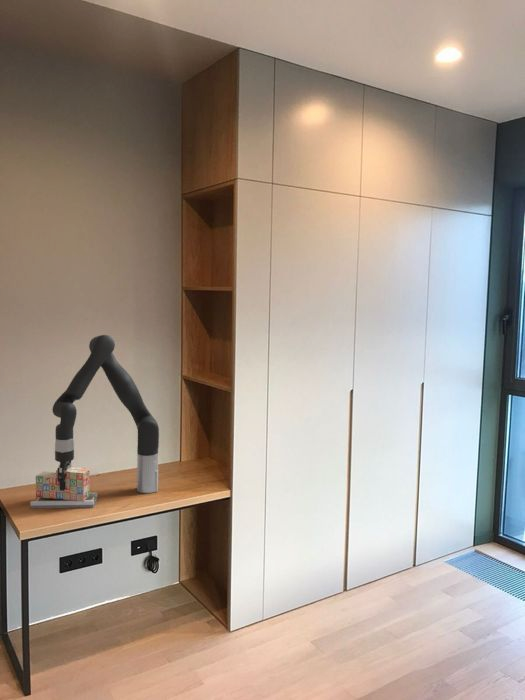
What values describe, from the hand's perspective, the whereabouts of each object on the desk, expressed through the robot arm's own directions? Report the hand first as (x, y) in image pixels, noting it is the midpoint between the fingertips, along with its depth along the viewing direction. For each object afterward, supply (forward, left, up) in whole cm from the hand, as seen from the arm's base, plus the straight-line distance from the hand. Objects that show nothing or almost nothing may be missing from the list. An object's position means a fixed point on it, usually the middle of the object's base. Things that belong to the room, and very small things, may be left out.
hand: (64, 486), depth 237 cm
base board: (0, 0, -7) cm, 7 cm away
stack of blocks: (+1, 0, -5) cm, 5 cm away
